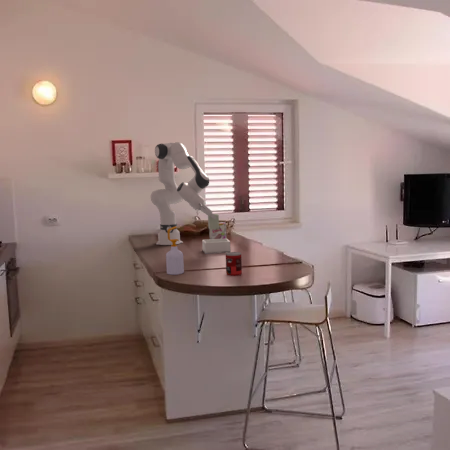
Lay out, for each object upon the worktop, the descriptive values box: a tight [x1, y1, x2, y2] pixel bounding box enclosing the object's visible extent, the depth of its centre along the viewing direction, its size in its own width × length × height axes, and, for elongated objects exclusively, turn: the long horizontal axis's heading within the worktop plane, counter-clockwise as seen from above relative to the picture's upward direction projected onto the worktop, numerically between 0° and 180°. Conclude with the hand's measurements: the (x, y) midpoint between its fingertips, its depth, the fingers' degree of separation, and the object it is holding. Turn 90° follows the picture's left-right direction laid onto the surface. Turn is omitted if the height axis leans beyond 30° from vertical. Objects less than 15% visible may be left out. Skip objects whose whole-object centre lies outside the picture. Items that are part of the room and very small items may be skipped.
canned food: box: [225, 251, 243, 277], centre depth 283 cm, size 8×8×11 cm
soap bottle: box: [165, 226, 185, 276], centre depth 291 cm, size 9×9×25 cm
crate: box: [201, 237, 232, 255], centre depth 356 cm, size 14×16×7 cm
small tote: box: [207, 213, 220, 230], centre depth 353 cm, size 6×6×9 cm
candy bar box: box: [208, 221, 227, 239], centre depth 373 cm, size 11×5×16 cm, turn 84°
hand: (214, 217), depth 353 cm, fingers closed on small tote, 6 cm apart
